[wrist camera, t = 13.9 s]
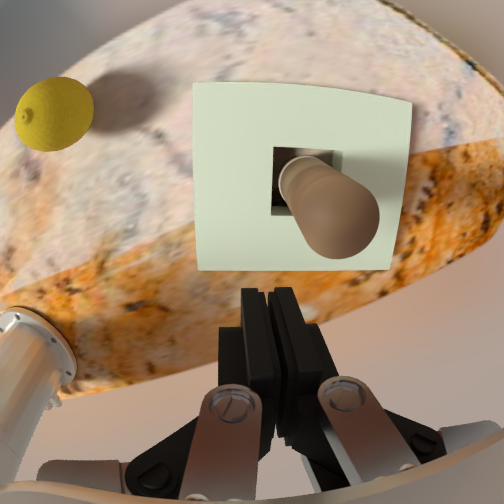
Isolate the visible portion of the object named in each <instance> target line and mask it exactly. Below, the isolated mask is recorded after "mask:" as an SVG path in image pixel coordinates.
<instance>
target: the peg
mask: <svg viewBox="0 0 504 504" xmlns="http://www.w3.org/2000/svg"><path fill="white" fill-rule="evenodd" d="M278 185H279V190H280V193H281V195H282V197H283V199H284V200H285V201H286V203H287V205H288V207H289V209H290V211H291V213H292V215H293V217H294V219H295V221H296V223H297V224H298V226H299V228H300V230H301V232H302V234H303V236H304V238H305V240H306V242H307V244H308V245H309V246H310V248H311V249H312V250H313V251H314V252H316V253H317V254H319V255H321V256H323V257H325V258H329V259H345V258H349V257H352V256H354V255H356V254H358V253H360V252H361V251H363V250H364V249H365V248H366V247H367V246H368V245H369V244H370V243H371V241H372V240H373V238H374V237H375V235H376V233H377V230H378V226H379V221H380V212H379V207H378V203H377V201H376V199H375V197H374V196H373V194H372V193H371V192H370V191H369V190H368V189H367V188H366V187H364V186H363V185H361V184H359V183H358V182H356V181H354V180H353V179H351V178H350V177H348V176H346V175H344V174H343V173H341V172H339V171H338V170H336V169H334V168H333V167H331V166H329V165H327V164H326V163H324V162H323V161H322V160H320V159H318V158H316V157H313V156H307V155H304V156H295V157H292V158H290V159H288V160H287V161H285V162H284V164H283V165H282V167H281V169H280V172H279V180H278Z"/></svg>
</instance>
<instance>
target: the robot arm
mask: <svg viewBox="0 0 504 504" xmlns="http://www.w3.org/2000/svg"><path fill="white" fill-rule="evenodd" d="M76 371H77V363H76V359H75V356H74V354H73V351H72V349H71V348H70V346H69V344H68V343H67V341H66V340H65V339H64V338H63V336H62V335H61V334H60V333H59V332H58V331H57V330H56V329H55V328H54V327H53V326H52V325H51V324H50V323H49V322H48V321H46V320H45V319H44V318H42V317H41V316H39V315H37V314H36V313H34V312H32V311H30V310H27V309H24V308H20V307H11V308H9V309H7V310H6V311H5V312H4V313H3V314H2V315H1V316H0V504H504V428H502V429H501V427H500V426H499V425H498V424H497V423H495V422H492V421H480V422H474V423H469V424H463V425H456V426H449V427H442V428H440V429H439V430H438V431H435V430H433V429H432V428H430V427H427V426H425V425H422V424H420V423H417V422H415V421H412V420H410V419H407V418H405V417H402V416H400V415H397V414H395V413H392V412H390V411H388V410H386V409H383V408H382V406H381V405H380V403H379V402H378V400H377V399H376V397H375V396H374V395H373V393H372V392H371V390H370V389H369V388H368V387H367V385H366V384H365V383H363V382H361V381H360V380H358V379H356V378H353V377H349V376H339V374H338V372H337V369H336V367H335V365H334V362H333V360H332V357H331V355H330V353H329V350H328V348H327V345H326V343H325V341H324V338H323V336H322V334H321V332H320V329H319V327H318V325H317V324H316V323H314V324H305V321H304V318H303V316H302V313H301V310H300V308H299V305H298V303H297V300H296V297H295V295H294V292H293V289H292V287H275V288H274V292H269V293H268V306H267V303H266V299H265V294H264V292H258V288H241V327H219V350H218V387H216V388H214V389H212V390H211V391H209V392H208V393H207V394H206V395H205V397H204V399H203V401H202V405H201V408H200V412H199V416H198V417H196V418H195V419H193V420H192V421H191V422H189V423H188V424H186V425H185V426H183V427H182V428H180V429H179V430H178V431H176V432H174V433H173V434H172V435H170V436H169V437H167V438H165V439H164V440H162V441H161V442H159V443H158V444H157V445H155V446H153V447H152V448H150V449H149V450H147V451H145V452H144V453H142V454H140V455H139V456H137V457H136V458H135V459H133V460H132V461H131V462H124V463H120V462H119V460H50V461H48V462H46V463H44V464H43V465H42V466H41V467H40V468H39V470H38V473H37V479H36V481H16V482H14V480H15V477H16V474H17V472H18V469H19V466H20V464H21V461H22V459H23V456H24V454H25V452H26V449H27V447H28V445H29V442H30V440H31V438H32V436H33V433H34V431H35V429H36V427H37V424H38V422H39V420H40V418H41V416H42V414H43V412H44V410H50V409H51V408H52V407H53V404H54V406H55V407H60V406H61V405H62V401H61V400H60V398H59V396H58V395H57V392H58V390H59V388H60V386H64V385H67V384H69V383H70V382H71V381H72V380H73V378H74V376H75V374H76ZM275 423H276V429H277V435H278V437H279V438H282V437H284V440H285V445H286V446H292V449H294V450H295V451H297V452H299V453H301V459H302V462H303V465H304V467H305V470H306V472H307V474H308V477H309V479H310V481H311V483H312V486H313V488H314V491H315V494H308V495H302V496H294V497H286V498H277V499H266V500H255V497H256V484H257V472H258V462H259V461H260V459H262V458H263V457H264V456H265V455H266V454H267V453H268V452H269V451H270V447H271V440H272V438H273V437H274V430H275Z"/></svg>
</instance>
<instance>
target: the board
mask: <svg viewBox="0 0 504 504" xmlns="http://www.w3.org/2000/svg"><path fill="white" fill-rule="evenodd" d="M411 119H412V102H408V101H403V100H399V99H394V98H389V97H384V96H379V95H374V94H368V93H362V92H356V91H350V90H343V89H335V88H327V87H319V86H309V85H297V84H283V83H263V82H205V83H193V99H192V142H193V189H194V216H195V236H196V254H197V270H198V271H334V270H389V269H390V264H391V260H392V255H393V251H394V246H395V241H396V236H397V231H398V225H399V220H400V214H401V208H402V202H403V195H404V188H405V181H406V173H407V165H408V155H409V145H410V133H411ZM273 147H296V148H312V149H326V150H333V158H332V167H333V168H334V169H336V170H338V171H339V172H341V173H343V174H344V175H346V176H348V177H350V178H351V179H353V180H354V181H356V182H358V183H359V184H361V185H363V186H364V187H366V188H367V189H368V190H369V191H370V192H371V193H372V194H373V196H374V197H375V199H376V201H377V203H378V207H379V212H380V221H379V226H378V230H377V233H376V235H375V237H374V238H373V240H372V241H371V243H370V244H369V245H368V246H367V247H366V248H365V249H364V250H363V251H361V252H360V253H358V254H356V255H354V256H352V257H349V258H345V259H329V258H325V257H323V256H321V255H319V254H317V253H316V252H314V251H313V250H312V249H311V248H310V246H309V245H308V244H307V242H306V240H305V238H304V236H303V234H302V232H301V230H300V228H299V226H298V224H297V223H296V221H295V219H294V217H293V215H292V213H291V211H290V209H289V207H288V206H271V195H272V169H273Z"/></svg>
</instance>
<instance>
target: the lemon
mask: <svg viewBox="0 0 504 504" xmlns="http://www.w3.org/2000/svg"><path fill="white" fill-rule="evenodd" d="M93 114H94V103H93V99H92V96H91V94H90V92H89V91H88V89H87V88H86V87H85V86H84V85H83V84H81V83H80V82H79V81H77V80H74V79H71V78H67V77H55V78H49V79H46V80H43V81H41V82H38V83H36V84H35V85H33V86H32V87H31V88H30V89H28V90H27V91H26V93H25V94H24V95H23V96H22V98H21V99H20V102H19V103H18V106H17V109H16V112H15V128H16V132H17V134H18V136H19V138H20V139H21V141H22V142H23V143H24V144H25V145H27V146H28V147H30V148H32V149H35V150H39V151H44V152H50V151H58V150H62V149H64V148H67V147H69V146H71V145H73V144H74V143H75V142H77V141H78V140H79V139H81V138H82V136H83V135H84V134H85V133H86V132H87V130H88V128H89V126H90V124H91V122H92V119H93Z"/></svg>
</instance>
